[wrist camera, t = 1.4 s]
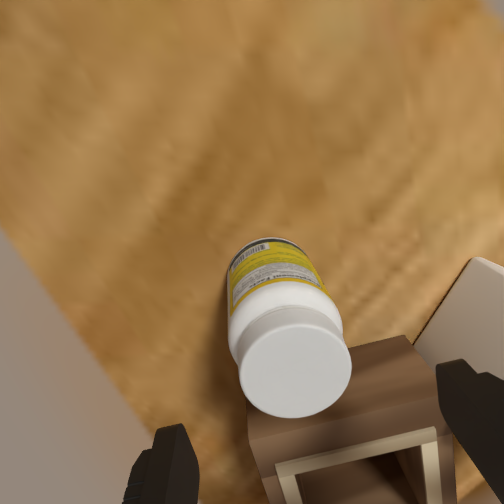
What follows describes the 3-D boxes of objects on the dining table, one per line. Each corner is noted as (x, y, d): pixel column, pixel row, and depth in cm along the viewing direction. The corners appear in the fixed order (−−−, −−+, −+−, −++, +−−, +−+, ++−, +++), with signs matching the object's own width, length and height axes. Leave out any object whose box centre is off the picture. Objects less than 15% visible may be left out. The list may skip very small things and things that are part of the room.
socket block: (244, 373, 23) (248, 444, 18) (404, 334, 23) (451, 395, 18) (285, 503, 27) (297, 588, 23) (420, 471, 27) (461, 550, 22)
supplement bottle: (298, 319, 22) (338, 436, 14) (219, 305, 21) (214, 420, 14) (322, 244, 20) (382, 328, 13) (237, 226, 20) (244, 304, 12)
